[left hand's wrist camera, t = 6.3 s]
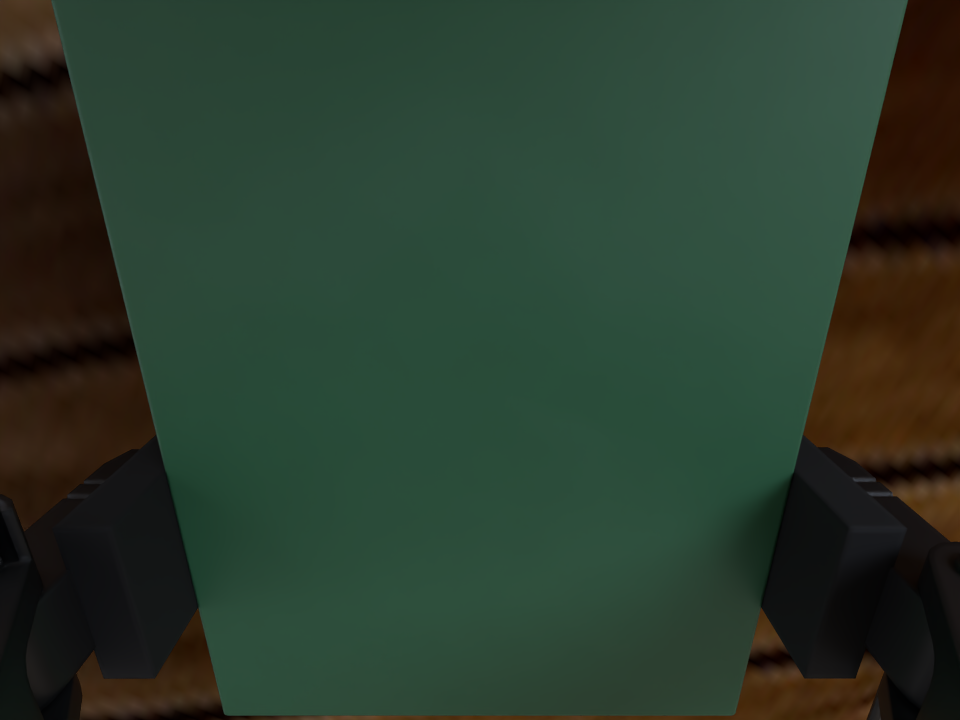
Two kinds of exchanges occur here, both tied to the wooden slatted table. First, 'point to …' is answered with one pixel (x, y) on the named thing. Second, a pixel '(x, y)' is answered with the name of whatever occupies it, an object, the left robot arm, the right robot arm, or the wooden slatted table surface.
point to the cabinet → (479, 327)
